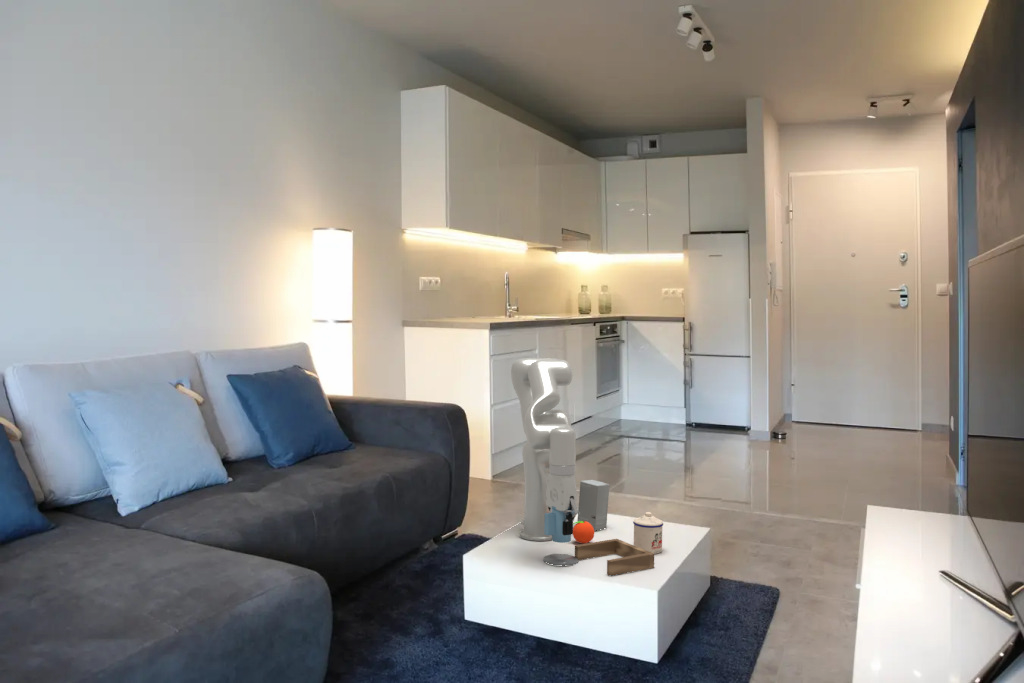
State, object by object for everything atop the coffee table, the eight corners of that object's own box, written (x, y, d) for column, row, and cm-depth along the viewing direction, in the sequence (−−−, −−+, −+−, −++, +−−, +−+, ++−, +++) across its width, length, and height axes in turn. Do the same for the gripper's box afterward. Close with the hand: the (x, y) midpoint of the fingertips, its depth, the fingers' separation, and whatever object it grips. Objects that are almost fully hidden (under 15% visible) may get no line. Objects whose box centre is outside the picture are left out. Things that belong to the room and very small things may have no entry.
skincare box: (576, 527, 256) (577, 481, 256) (590, 523, 261) (591, 478, 261) (595, 532, 250) (596, 485, 250) (609, 528, 255) (610, 482, 254)
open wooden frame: (574, 559, 221) (574, 545, 221) (616, 551, 228) (616, 538, 228) (610, 576, 206) (610, 561, 206) (654, 567, 214) (654, 553, 214)
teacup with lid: (656, 556, 224) (657, 517, 224) (628, 551, 229) (628, 513, 229) (670, 546, 234) (670, 509, 234) (642, 542, 239) (643, 505, 239)
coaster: (537, 558, 220) (537, 556, 220) (565, 553, 226) (565, 551, 226) (556, 568, 212) (556, 566, 212) (584, 563, 217) (584, 561, 217)
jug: (564, 536, 222) (564, 502, 222) (575, 541, 217) (576, 506, 217) (540, 539, 218) (540, 505, 218) (551, 545, 213) (552, 509, 213)
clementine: (570, 546, 234) (570, 523, 233) (567, 539, 240) (568, 517, 240) (595, 546, 234) (596, 523, 234) (592, 540, 241) (593, 518, 241)
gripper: (535, 466, 224) (535, 527, 224) (568, 476, 209) (567, 540, 209) (556, 464, 227) (556, 524, 228) (590, 474, 213) (589, 537, 213)
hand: (561, 531), depth 218 cm, fingers closed on jug, 5 cm apart
